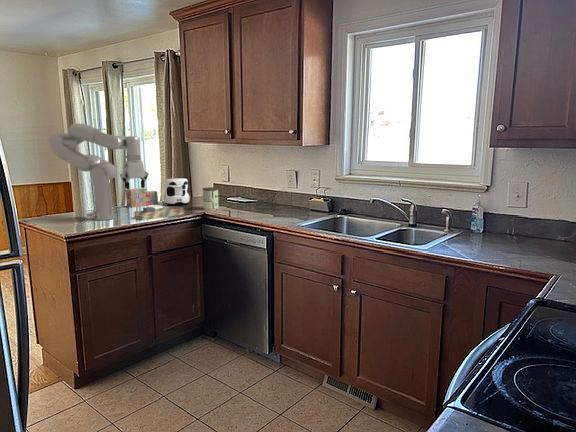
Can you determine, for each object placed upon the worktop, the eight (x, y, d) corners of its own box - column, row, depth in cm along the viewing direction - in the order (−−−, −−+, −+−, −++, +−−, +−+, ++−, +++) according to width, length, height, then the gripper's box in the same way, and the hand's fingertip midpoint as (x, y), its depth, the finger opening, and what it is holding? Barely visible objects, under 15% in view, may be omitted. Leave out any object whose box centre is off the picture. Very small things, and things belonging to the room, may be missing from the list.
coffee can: (205, 207, 298) (205, 187, 295) (220, 208, 297) (219, 187, 294) (201, 210, 288) (200, 188, 285) (216, 210, 287) (216, 189, 284)
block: (147, 215, 256) (147, 208, 256) (143, 214, 260) (142, 207, 259) (155, 214, 260) (154, 207, 259) (150, 213, 263) (150, 206, 263)
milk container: (176, 202, 323) (175, 177, 319) (194, 203, 315) (193, 178, 312) (159, 205, 307) (158, 179, 304) (178, 207, 300) (177, 180, 296)
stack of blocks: (152, 203, 316) (152, 186, 314) (158, 204, 313) (157, 187, 310) (126, 206, 300) (125, 189, 297) (131, 207, 296) (130, 189, 294)
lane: (142, 220, 252) (142, 213, 251) (134, 218, 258) (134, 211, 258) (184, 214, 272) (183, 208, 271) (175, 212, 278) (175, 206, 278)
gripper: (122, 159, 240) (124, 190, 243) (150, 158, 252) (152, 187, 255) (115, 158, 245) (117, 189, 248) (144, 157, 257) (145, 186, 260)
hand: (135, 188), depth 251 cm, fingers open, 9 cm apart
